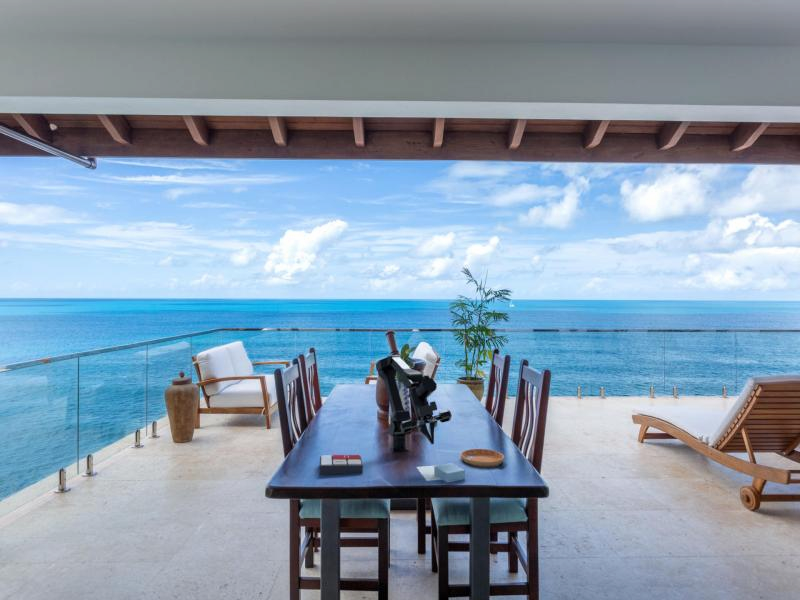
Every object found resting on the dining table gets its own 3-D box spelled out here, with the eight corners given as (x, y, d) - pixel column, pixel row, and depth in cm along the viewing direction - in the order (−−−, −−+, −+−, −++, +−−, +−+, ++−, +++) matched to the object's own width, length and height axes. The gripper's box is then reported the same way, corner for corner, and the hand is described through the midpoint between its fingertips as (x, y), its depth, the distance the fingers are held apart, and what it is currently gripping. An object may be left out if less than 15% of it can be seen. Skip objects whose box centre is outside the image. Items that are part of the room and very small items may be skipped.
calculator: (363, 463, 159) (319, 463, 157) (362, 476, 159) (319, 476, 157) (360, 453, 170) (320, 453, 168) (360, 465, 170) (319, 465, 167)
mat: (416, 468, 163) (416, 467, 163) (450, 465, 166) (450, 464, 166) (426, 482, 150) (426, 480, 150) (463, 479, 153) (463, 477, 153)
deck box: (434, 466, 156) (447, 473, 149) (451, 462, 159) (464, 469, 152) (434, 474, 156) (447, 482, 149) (451, 471, 159) (464, 479, 152)
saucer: (466, 453, 181) (466, 446, 181) (506, 458, 175) (506, 450, 175) (456, 467, 166) (456, 458, 166) (500, 472, 160) (500, 464, 160)
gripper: (396, 402, 163) (408, 444, 154) (446, 389, 165) (460, 430, 157) (396, 412, 172) (407, 453, 164) (443, 400, 175) (456, 439, 167)
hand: (432, 444), depth 163 cm, fingers closed
